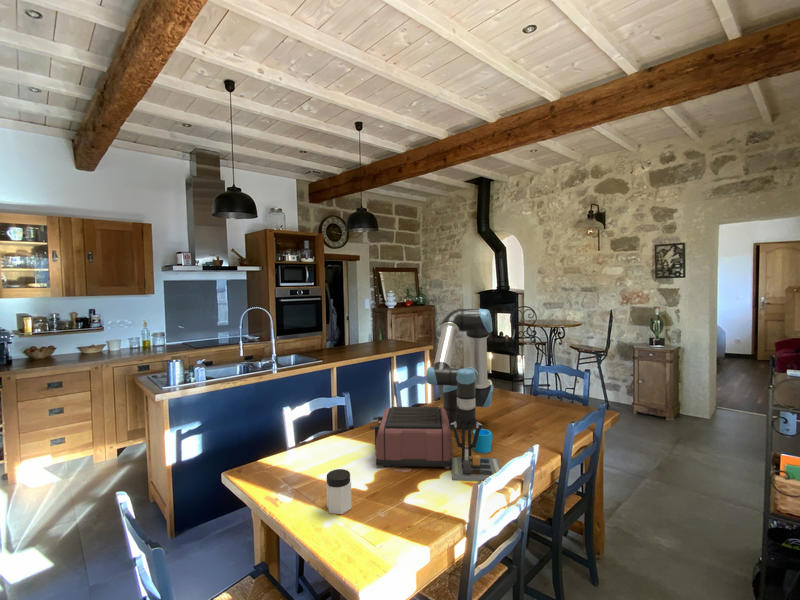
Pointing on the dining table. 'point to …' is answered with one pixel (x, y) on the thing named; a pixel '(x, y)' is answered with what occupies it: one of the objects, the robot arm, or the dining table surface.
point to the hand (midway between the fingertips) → (466, 463)
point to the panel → (474, 469)
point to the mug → (483, 441)
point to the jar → (338, 491)
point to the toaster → (413, 437)
